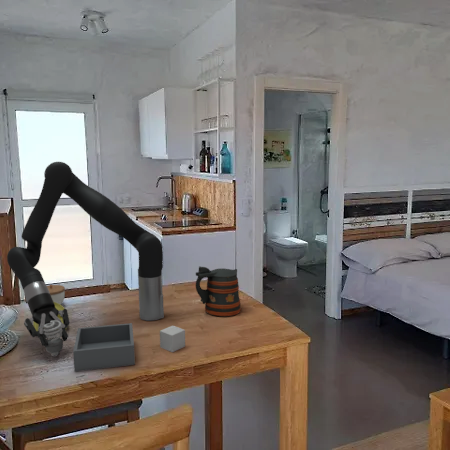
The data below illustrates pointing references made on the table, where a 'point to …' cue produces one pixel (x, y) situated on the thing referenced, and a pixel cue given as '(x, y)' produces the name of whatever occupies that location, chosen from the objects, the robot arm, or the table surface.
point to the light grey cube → (172, 338)
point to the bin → (104, 347)
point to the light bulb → (53, 343)
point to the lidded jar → (57, 293)
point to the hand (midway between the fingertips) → (56, 342)
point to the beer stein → (219, 291)
